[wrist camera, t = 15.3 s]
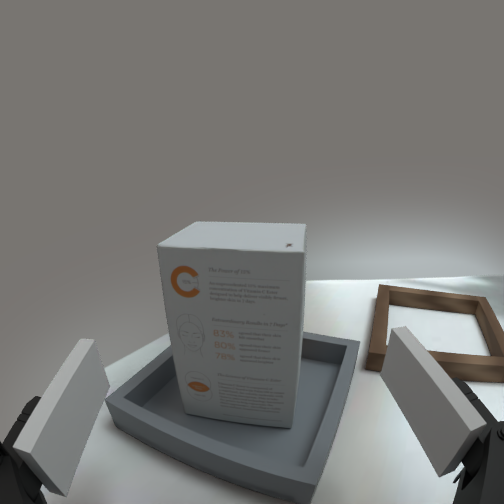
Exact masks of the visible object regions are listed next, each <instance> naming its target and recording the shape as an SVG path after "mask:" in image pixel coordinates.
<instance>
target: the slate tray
mask: <svg viewBox="0 0 504 504" xmlns="http://www.w3.org/2000/svg"><path fill="white" fill-rule="evenodd" d="M359 344H360V341H355V340H349V339H342V338H336V337H330V336H325V335H319V334H313V333H308V332H303V340H302V352H301V364H300V374H299V383H298V391H297V399H296V406H295V413H294V420H293V426H292V428H283V427H272V426H263V425H254V424H246V423H238V422H231V421H225V420H219V419H213V418H208V417H202V416H197V415H191V414H186V413H185V411H184V407H183V402H182V398H181V394H180V389H179V384H178V379H177V375H176V370H175V364H174V359H173V353H172V347H171V345H170V346H169V347H168V348H167V349H166V350H164V351H163V352H162V353H161V354H160V355H158V356H157V357H156V358H155V359H154V360H152V361H151V362H150V363H149V364H148V365H146V366H145V367H144V368H143V369H141V370H140V371H139V372H138V373H137V374H135V375H134V376H133V377H132V378H130V379H129V380H128V381H127V382H126V383H124V384H123V385H122V386H121V387H119V388H118V389H117V390H116V391H115V392H113V393H112V394H111V395H110V396H108V397H107V398H106V399H105V402H106V404H107V407H108V409H109V412H110V414H111V416H112V419H113V421H114V423H115V425H116V427H118V428H119V429H121V430H123V431H124V432H126V433H128V434H129V435H131V436H133V437H135V438H136V439H138V440H140V441H142V442H144V443H145V444H147V445H149V446H151V447H153V448H155V449H157V450H159V451H160V452H162V453H164V454H166V455H168V456H170V457H172V458H174V459H177V460H179V461H181V462H183V463H185V464H187V465H189V466H192V467H194V468H196V469H198V470H201V471H203V472H205V473H208V474H210V475H213V476H215V477H218V478H220V479H223V480H225V481H228V482H231V483H233V484H236V485H239V486H242V487H244V488H247V489H250V490H253V491H256V492H259V493H262V494H266V495H269V496H272V497H276V498H279V499H283V500H286V501H290V502H294V503H298V504H310V503H311V501H312V498H313V496H314V493H315V491H316V488H317V486H318V483H319V481H320V478H321V475H322V473H323V470H324V467H325V464H326V462H327V459H328V456H329V453H330V450H331V447H332V444H333V441H334V438H335V435H336V432H337V429H338V426H339V423H340V419H341V416H342V413H343V409H344V406H345V403H346V399H347V395H348V392H349V388H350V385H351V381H352V377H353V373H354V369H355V365H356V360H357V355H358V350H359Z"/></svg>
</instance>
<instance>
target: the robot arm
mask: <svg viewBox="0 0 504 504" xmlns="http://www.w3.org/2000/svg"><path fill="white" fill-rule="evenodd" d="M380 376H381V377H382V379H383V381H384V382H385V384H386V386H387V387H388V389H389V391H390V392H391V394H392V396H393V397H394V399H395V401H396V402H397V404H398V406H399V408H400V409H401V411H402V413H403V414H404V416H405V418H406V420H407V421H408V423H409V425H410V426H411V428H412V430H413V432H414V433H415V435H416V437H417V439H418V440H419V442H420V444H421V446H422V448H423V449H424V451H425V453H426V455H427V457H428V458H429V460H430V462H431V464H432V466H433V468H434V469H435V471H436V473H437V475H438V477H441V476H443V475H446V474H448V473H450V472H452V471H455V469H456V468H457V467H458V465H459V464H460V463H461V462H462V463H463V465H464V466H465V467H464V468H463V469H462V470H461V472H460V473H459V474H458V476H457V477H456V478H455V480H454V482H453V483H456V482H457V481H458V479H459V478H460V480H459V483H458V487H457V491H456V494H455V498H454V501H453V504H504V421H500V422H498V421H497V420H496V419H495V418H494V416H493V415H492V414H491V413H490V411H489V410H488V409H487V408H486V407H485V405H484V404H483V403H482V402H481V400H480V399H478V397H477V396H476V394H475V393H473V391H472V390H471V388H470V387H469V386H468V385H467V384H466V383H465V382H463V381H462V380H460V379H458V378H457V377H456V378H452V379H451V378H450V377H449V376H448V375H447V373H446V372H445V371H444V370H443V369H442V367H441V366H440V365H439V364H438V363H437V362H436V360H435V359H434V358H433V357H432V356H431V355H430V353H429V352H428V351H427V350H426V349H425V348H424V346H423V345H422V344H421V343H420V342H419V341H418V340H417V338H416V337H415V336H414V335H413V334H412V333H411V332H410V331H409V329H408V328H407V327H406V326H405V327H398V328H392V330H391V334H390V339H389V343H388V347H387V351H386V355H385V359H384V363H383V367H382V371H381V374H380ZM109 388H110V385H109V382H108V379H107V376H106V373H105V370H104V367H103V364H102V361H101V358H100V355H99V351H98V348H97V345H96V341H95V340H92V339H80V340H79V342H78V343H77V345H76V346H75V347H74V349H73V350H72V352H71V353H70V355H69V356H68V358H67V359H66V361H65V362H64V364H63V365H62V367H61V368H60V370H59V371H58V373H57V374H56V376H55V377H54V379H53V380H52V382H51V383H50V385H49V387H48V388H47V390H46V391H45V393H44V394H43V396H42V397H38V396H35V397H34V398H33V399H32V400H31V401H29V402H28V403H27V404H26V406H25V407H24V409H23V410H22V414H20V415H19V417H18V418H17V421H16V422H15V423H14V425H13V426H12V428H11V430H10V431H9V433H8V435H7V437H6V438H5V440H4V442H3V444H2V443H1V442H0V504H47V502H46V500H45V497H44V495H43V493H42V492H41V490H40V488H41V486H42V484H43V485H44V486H45V487H46V488H47V489H48V490H49V492H52V493H55V494H58V495H61V496H65V497H67V494H68V491H69V488H70V486H71V483H72V480H73V477H74V474H75V472H76V469H77V466H78V464H79V461H80V458H81V456H82V453H83V450H84V448H85V445H86V443H87V440H88V438H89V435H90V433H91V430H92V428H93V425H94V423H95V420H96V418H97V416H98V413H99V411H100V408H101V406H102V404H103V401H104V399H105V397H106V394H107V392H108V390H109Z"/></svg>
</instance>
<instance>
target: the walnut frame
mask: <svg viewBox="0 0 504 504" xmlns="http://www.w3.org/2000/svg"><path fill="white" fill-rule="evenodd" d="M389 304H391V305H399V306H407V307H415V308H423V309H431V310H440V311H448V312H457V313H466V314H475V315H476V318H477V320H478V322H479V325H480V327H481V330H482V332H483V335H484V337H485V340H486V343H487V345H488V348H489V351H490V353H491V356H480V355H468V354H457V353H446V352H436V351H428V352H429V353H430V355H431V356H432V357H433V358H434V359H435V360H436V362H437V363H438V364H439V365H440V366H441V367H442V369H443V370H444V371H445V372H446V373H447V375H448V376H449V377H450V378H451V379H452V378H456V377H457V378H458V379H460V380H464V381H480V382H503V383H504V331H503V329H502V327H501V325H500V323H499V321H498V320H497V318H496V316H495V314H494V312H493V310H492V308H491V306H490V305H489V303H488V301H487V299H486V297H479V296H470V295H462V294H453V293H445V292H436V291H428V290H420V289H412V288H404V287H396V286H388V285H381V284H379V288H378V295H377V302H376V309H375V316H374V322H373V329H372V335H371V341H370V346H369V352H368V357H367V362H366V368H365V369H367V370H374V371H380V372H381V371H382V367H383V363H384V359H385V355H386V351H387V347H388V346H387V345H386V338H387V326H388V311H389Z"/></svg>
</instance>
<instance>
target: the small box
mask: <svg viewBox="0 0 504 504" xmlns="http://www.w3.org/2000/svg"><path fill="white" fill-rule="evenodd" d="M306 238H307V236H306V224H285V223H284V224H283V223H246V222H195V223H193V224H192V225H190V226H188V227H186V228H185V229H183V230H181V231H179V232H178V233H176V234H174V235H173V236H171V237H169V238H168V239H166V240H164V241H163V242H161V243H159V244H158V245H157V252H158V259H159V267H160V275H161V282H162V290H163V296H164V305H165V311H166V318H167V324H168V329H169V336H170V341H171V347H172V353H173V359H174V364H175V370H176V375H177V379H178V384H179V389H180V394H181V398H182V402H183V407H184V411H185V413H186V414H191V415H197V416H202V417H208V418H213V419H219V420H225V421H231V422H238V423H246V424H254V425H263V426H272V427H283V428H292V426H293V420H294V413H295V406H296V399H297V391H298V383H299V374H300V364H301V352H302V340H303V325H304V306H305V283H306Z"/></svg>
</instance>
